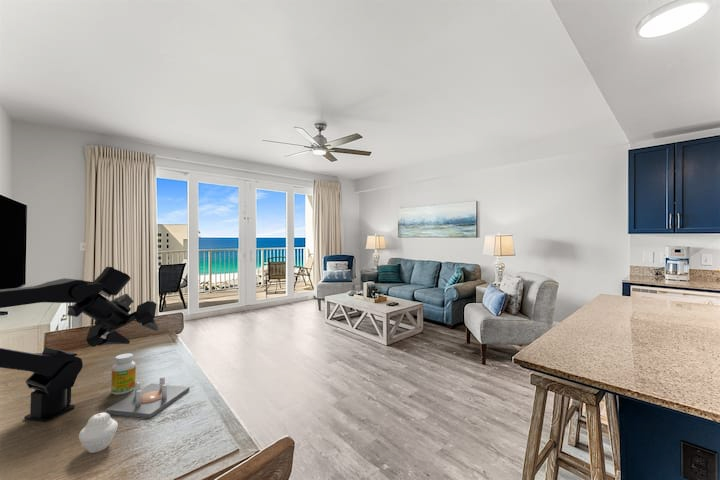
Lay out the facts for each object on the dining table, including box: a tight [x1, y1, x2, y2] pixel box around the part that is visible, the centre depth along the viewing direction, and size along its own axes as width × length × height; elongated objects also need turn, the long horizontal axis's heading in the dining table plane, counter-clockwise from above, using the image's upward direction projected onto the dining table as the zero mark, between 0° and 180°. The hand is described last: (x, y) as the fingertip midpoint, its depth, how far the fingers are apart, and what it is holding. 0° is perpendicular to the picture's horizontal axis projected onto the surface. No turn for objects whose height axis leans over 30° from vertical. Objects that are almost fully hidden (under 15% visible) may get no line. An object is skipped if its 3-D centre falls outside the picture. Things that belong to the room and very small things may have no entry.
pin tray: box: [105, 376, 190, 419], centre depth 82 cm, size 14×12×4 cm
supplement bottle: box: [110, 353, 137, 395], centre depth 88 cm, size 5×5×10 cm
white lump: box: [78, 412, 119, 454], centre depth 64 cm, size 6×6×7 cm
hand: (143, 335), depth 96 cm, fingers open, 9 cm apart
